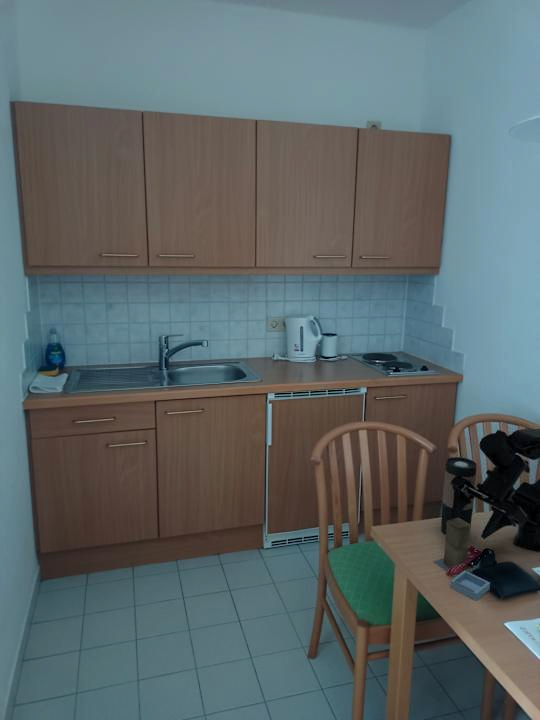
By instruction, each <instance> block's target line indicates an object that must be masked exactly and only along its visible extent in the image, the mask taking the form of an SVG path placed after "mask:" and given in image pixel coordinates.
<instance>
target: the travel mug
mask: <svg viewBox="0 0 540 720" xmlns="http://www.w3.org/2000/svg"><path fill="white" fill-rule="evenodd" d="M477 465H478V464H477V462H475V461H474V460H472V459H469V458H466V457H459V456H458V457H457V456H454V457H448V458H447V459H446V461H445V471H444V482H443V491H442V500H441V501H442V502H441V503H442V504H441V524H440V525H441V526H440V531H441V533H442V534H443V536H446V529H447V526H446V525H447V521H448V520H452V519H451V514H452V507H453V501H454V490H453V488H452V487H453V486H452V485H451V483H450V482H451V481H452V480H453V478H454V477H456V476H460V477H462V478H464V479H466V480H468V481H469V482H470V483H471V484H472V485H473V486H474V487H475V488H476V479H477V478H476V477H477V468H478V466H477ZM470 500H471V501H472V503H470V504H467V505H466V506H465V507H464V509H463V510H462V512H461V513H460V514H459V516H458V517H457V518H460V519H462V520H463V521H465V522H467V523H469V524H470V525H471V526H472V518H473V511H474V510H473V509H474V503H475V501H474V500H475V498H473V499H470Z"/></svg>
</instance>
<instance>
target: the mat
mask: <svg viewBox="0 0 540 720" xmlns="http://www.w3.org/2000/svg"><path fill="white" fill-rule="evenodd" d="M432 562H433V563H434V564H435V565H437V566H438V567H440V568H441V569H442V570H444V571H445V572H447V573H448V570H449V569H450V568H449V567H448V566H446V565H445V564H443V563H444V557H443V558H439V559H437V560H433V561H432ZM465 571H467V572H469V573H471V572H470V570H469V569H466V570H465ZM462 572H463V571H462ZM462 572H461V573H462ZM458 575H459V574H458ZM458 575H451V576H452V577H453V578H455V577H456V576H458Z"/></svg>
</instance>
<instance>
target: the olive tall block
mask: <svg viewBox="0 0 540 720" xmlns="http://www.w3.org/2000/svg"><path fill="white" fill-rule="evenodd" d="M446 526H447V529H446V535H445V542H444V552H443V553H444V554H443V558H444V563H443V564H445V565H446V566H448V567H449V568H451V567H452V566H456V565H459V564H462V563H465V562H467V563H468V553H469V543H470V534H471V526H472V524H471V525H470V524H469V523H467V522H465V521H463V520H462V519H460V518H455V519H452V520H448V521H447V525H446Z"/></svg>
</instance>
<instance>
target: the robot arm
mask: <svg viewBox="0 0 540 720" xmlns="http://www.w3.org/2000/svg"><path fill="white" fill-rule="evenodd" d="M478 444H479V446H478V447H479V450H480V451H481V452H482V453H483V454H484V455H485V457H486V458H487V459H488V460H489V461H490V462H491V464H492V465H493V468H492V470H490V469H487V470H486V471H485V474H486V475H487V477H486V478H485V479H484V481H483V482H482V484H481V483H480V482H477V485H475V487H474V486H473V485H472V484H471V483H470V482H469V481H468V480H466V479H464V478H462V477H460V476H456V477H454V478H453V480H452V481H451V482H450V483H451V485H452V486H453V487H452V488H453V490H454V501H453V507H452V514H451V519H455V518H457V517H458V516H459V514H460V513H461V512H462V510H463V509H464V507H465V506H466V505H467V504H470V503H472V501H471V500H470V499H473V498H474V499H475V498H476V499H478V500H480V501H482V502H483V503H486V504H487V505H489V506H491V507H490V508H491V511H492V514H491V516H490V518H489V520H488V522H487V523H486V525H485V527H484V528H483V530H482V532H481V536H480V537H481V538H482V539H483V540H485V539H486V538H488V537H490V536H491V535H494V534H495V533H496V532H497V531H499V530H501V529H503V528H505V527H511V526H512V527H514V528H515V527H517V532H516V533H515V538H514V540H513V545H516V546H519V547H523V548H526V549H530V550H533V551H537V552H540V478H538V480H536V482H534V483H528V482H526V481H524V482H522V483H521V484H520V485H519V486H518V487H517V488H516V489H515V488H514V486H515V484H516V482H517V481H518V480H519V478H520V477H521V475H522V474H523V472H524V473H526V474H529V473H530V472H531V468H530V463H529V461H528V460H526V459H523V458H522V457H525V458H527V459H529V460H532V461H535V460H538V459H540V428H537V429H535V428H523V429H517V430H516V429H515V431H513V432H512V433H511V434H507V433H506V432H505V431H503V430H501V429H497V430H496V432H494V433H488V434H487V435H485V436H483V437H482V438H481V439H480V442H479V443H478Z"/></svg>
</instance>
